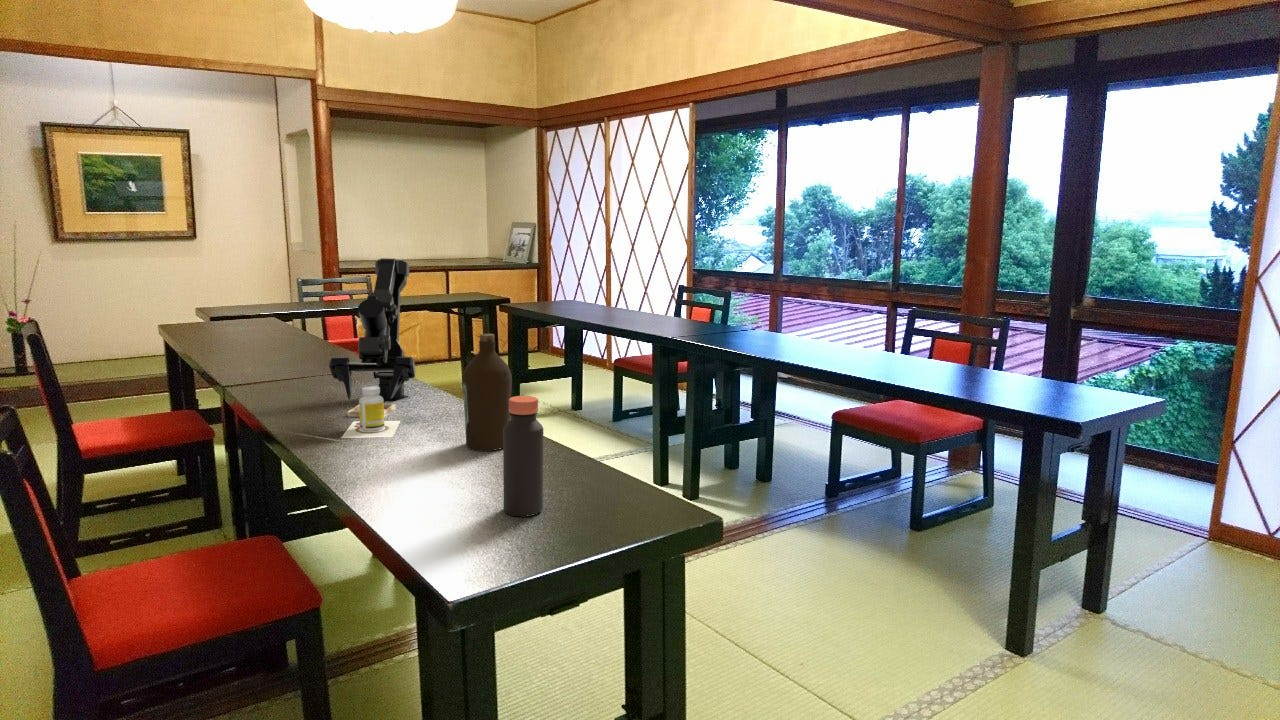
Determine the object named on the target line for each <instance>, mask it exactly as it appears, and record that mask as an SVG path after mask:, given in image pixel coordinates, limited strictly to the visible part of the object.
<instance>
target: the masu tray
mask: <svg viewBox="0 0 1280 720" xmlns="http://www.w3.org/2000/svg"><path fill="white" fill-rule="evenodd" d="M395 410H397V404H396V403H384V418H386V417H387V416H388V415H390V414H391V413H392V412H394V411H395ZM347 417H348V418H349V417H350V418H351V417H352V418H360V414H359V404H358V405H356V406H354V407H353V408H351V409H350V410H348V411H347Z"/></svg>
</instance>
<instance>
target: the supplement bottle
mask: <svg viewBox="0 0 1280 720" xmlns="http://www.w3.org/2000/svg"><path fill="white" fill-rule="evenodd" d="M379 394H380V387H379V385H378V386H377V385H369V386H363V387H362V388H361V395H362V396H361V397H359V399H358V405H359V414H360V417H359V421H360V429H361V430H364V431H377V430H381V429H383V428H384V421H385V417H384V404H385V402H384V401H385V400H383V397H382V396H379Z"/></svg>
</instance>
